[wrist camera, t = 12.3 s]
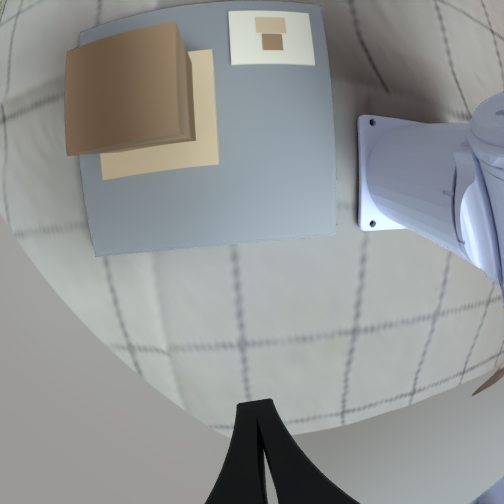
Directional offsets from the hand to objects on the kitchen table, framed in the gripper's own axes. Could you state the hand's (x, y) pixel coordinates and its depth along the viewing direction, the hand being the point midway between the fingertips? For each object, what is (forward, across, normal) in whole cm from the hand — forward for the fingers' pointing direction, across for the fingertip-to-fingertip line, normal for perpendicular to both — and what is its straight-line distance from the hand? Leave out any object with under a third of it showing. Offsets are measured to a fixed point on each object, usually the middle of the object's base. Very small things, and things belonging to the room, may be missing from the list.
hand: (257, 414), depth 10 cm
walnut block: (+6, +3, -13) cm, 15 cm away
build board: (+10, +1, -12) cm, 16 cm away
